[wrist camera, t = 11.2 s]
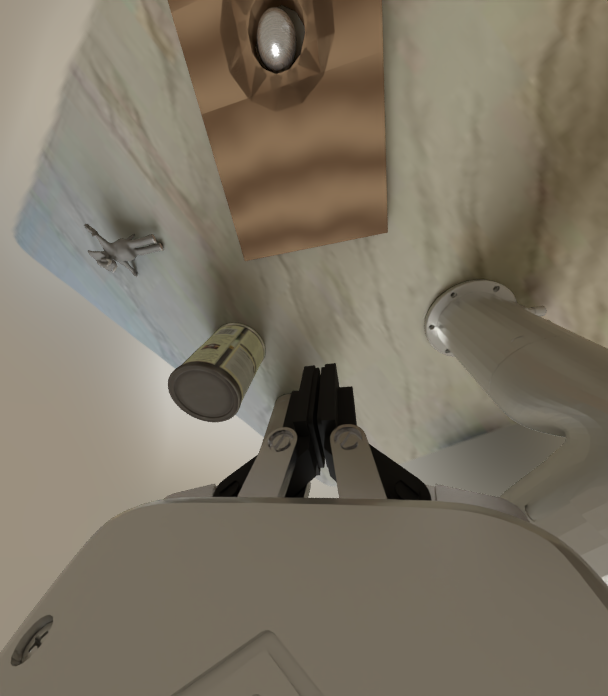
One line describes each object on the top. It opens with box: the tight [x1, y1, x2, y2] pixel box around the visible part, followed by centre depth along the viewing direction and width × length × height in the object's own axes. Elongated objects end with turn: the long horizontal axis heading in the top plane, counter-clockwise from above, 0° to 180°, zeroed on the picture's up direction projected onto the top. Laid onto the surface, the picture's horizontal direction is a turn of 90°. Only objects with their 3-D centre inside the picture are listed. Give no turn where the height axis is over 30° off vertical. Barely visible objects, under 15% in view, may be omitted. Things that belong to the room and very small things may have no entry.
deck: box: [168, 0, 388, 261], centre depth 27 cm, size 28×20×2 cm
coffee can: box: [168, 323, 265, 422], centre depth 38 cm, size 10×10×14 cm
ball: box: [257, 7, 296, 73], centre depth 24 cm, size 4×4×4 cm
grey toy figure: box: [84, 224, 163, 277], centre depth 35 cm, size 10×6×9 cm
